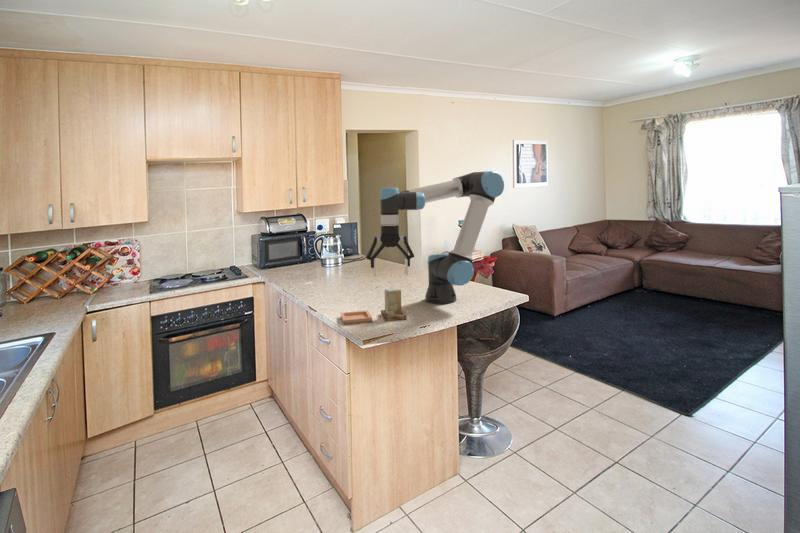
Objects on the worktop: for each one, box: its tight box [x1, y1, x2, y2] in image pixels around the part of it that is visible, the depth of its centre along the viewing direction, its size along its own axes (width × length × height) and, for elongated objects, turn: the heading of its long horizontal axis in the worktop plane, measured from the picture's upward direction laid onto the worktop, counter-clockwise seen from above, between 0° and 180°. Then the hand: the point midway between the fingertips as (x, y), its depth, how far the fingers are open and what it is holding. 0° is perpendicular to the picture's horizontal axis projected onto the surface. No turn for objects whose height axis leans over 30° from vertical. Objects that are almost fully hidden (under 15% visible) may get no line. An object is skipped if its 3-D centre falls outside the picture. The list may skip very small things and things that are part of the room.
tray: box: [340, 310, 373, 326], centre depth 185 cm, size 12×12×2 cm
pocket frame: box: [380, 308, 408, 322], centre depth 187 cm, size 9×11×2 cm
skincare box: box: [384, 287, 402, 316], centre depth 186 cm, size 6×4×12 cm
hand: (390, 274), depth 185 cm, fingers open, 13 cm apart
